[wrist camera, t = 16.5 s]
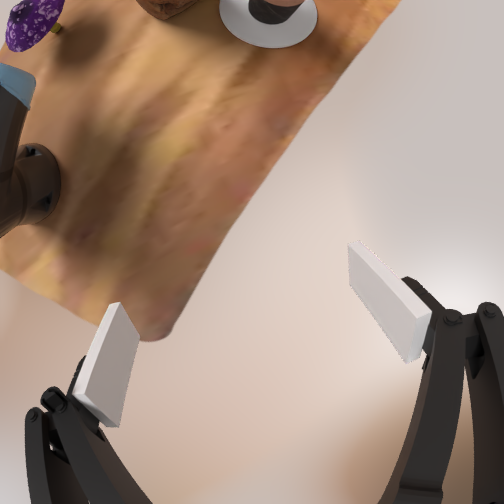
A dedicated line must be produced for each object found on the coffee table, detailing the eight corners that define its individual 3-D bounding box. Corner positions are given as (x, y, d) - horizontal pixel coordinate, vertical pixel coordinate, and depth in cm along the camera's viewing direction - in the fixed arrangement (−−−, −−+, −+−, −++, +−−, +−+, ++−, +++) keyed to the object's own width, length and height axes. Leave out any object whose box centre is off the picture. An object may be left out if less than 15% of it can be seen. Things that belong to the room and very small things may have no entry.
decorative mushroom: (40, 72, 29) (-11, 64, 15) (28, 31, 23) (-17, 17, 10) (94, 29, 28) (52, 2, 14) (78, -10, 22) (41, -38, 9)
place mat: (231, 55, 34) (231, 54, 34) (210, -18, 27) (210, -20, 27) (326, 44, 34) (327, 44, 34) (302, -26, 27) (303, -27, 27)
